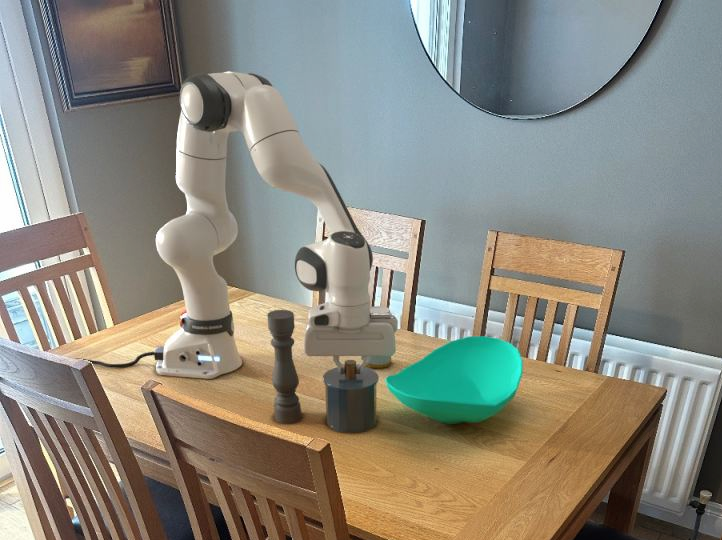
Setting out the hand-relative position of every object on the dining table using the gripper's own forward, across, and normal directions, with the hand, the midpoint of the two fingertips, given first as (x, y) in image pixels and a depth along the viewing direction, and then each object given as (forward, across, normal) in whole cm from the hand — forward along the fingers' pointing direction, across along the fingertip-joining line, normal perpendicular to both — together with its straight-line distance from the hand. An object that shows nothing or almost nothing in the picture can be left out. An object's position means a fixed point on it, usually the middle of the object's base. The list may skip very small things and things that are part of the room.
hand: (350, 373), depth 164 cm
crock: (+12, 0, 0) cm, 12 cm away
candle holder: (+12, +15, -2) cm, 20 cm away
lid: (+2, 0, 0) cm, 2 cm away
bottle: (+12, -7, -33) cm, 36 cm away
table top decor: (+12, -24, -2) cm, 27 cm away
